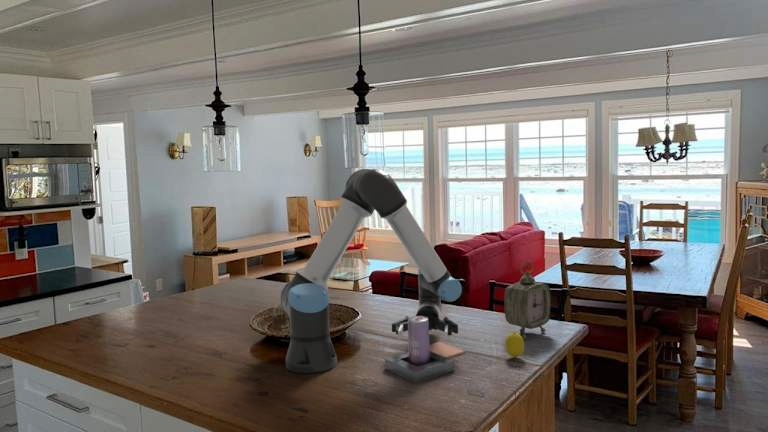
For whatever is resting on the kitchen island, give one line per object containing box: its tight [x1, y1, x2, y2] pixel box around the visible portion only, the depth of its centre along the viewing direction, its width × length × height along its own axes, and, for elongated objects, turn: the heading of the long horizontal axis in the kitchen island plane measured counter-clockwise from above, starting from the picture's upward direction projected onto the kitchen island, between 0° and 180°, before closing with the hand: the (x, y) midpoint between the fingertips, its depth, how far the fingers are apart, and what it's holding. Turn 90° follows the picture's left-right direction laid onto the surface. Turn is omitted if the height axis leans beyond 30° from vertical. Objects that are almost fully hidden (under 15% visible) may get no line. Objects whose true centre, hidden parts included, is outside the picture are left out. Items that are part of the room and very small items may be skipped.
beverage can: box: [407, 315, 430, 367], centre depth 159 cm, size 6×6×15 cm
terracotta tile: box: [429, 341, 466, 359], centre depth 174 cm, size 12×12×1 cm
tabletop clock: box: [504, 261, 552, 340], centre depth 188 cm, size 14×9×25 cm, turn 129°
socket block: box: [384, 351, 455, 384], centre depth 159 cm, size 14×14×3 cm
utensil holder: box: [271, 304, 290, 331], centre depth 196 cm, size 6×6×12 cm
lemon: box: [504, 331, 525, 359], centre depth 166 cm, size 6×6×8 cm
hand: (422, 336), depth 162 cm, fingers open, 13 cm apart
